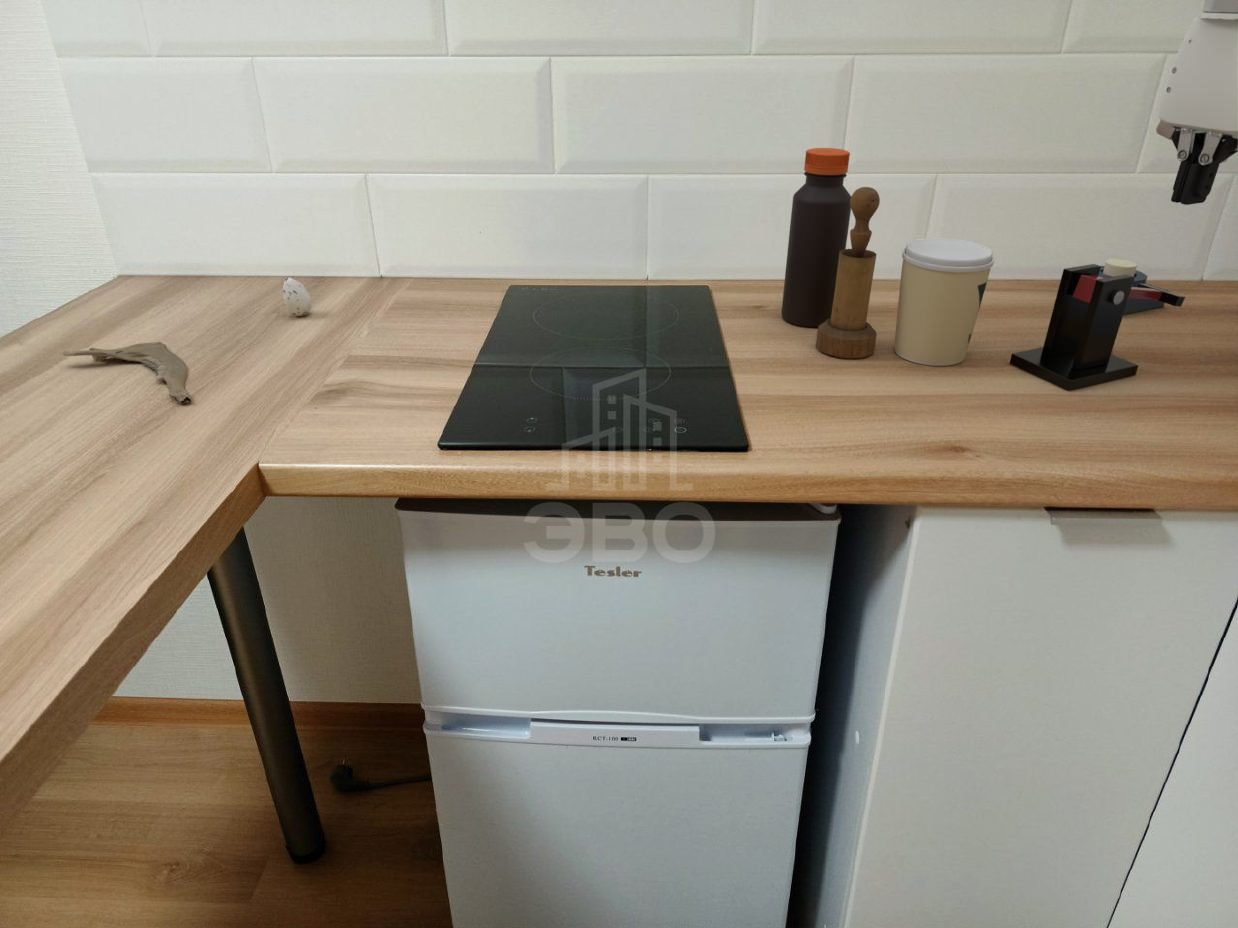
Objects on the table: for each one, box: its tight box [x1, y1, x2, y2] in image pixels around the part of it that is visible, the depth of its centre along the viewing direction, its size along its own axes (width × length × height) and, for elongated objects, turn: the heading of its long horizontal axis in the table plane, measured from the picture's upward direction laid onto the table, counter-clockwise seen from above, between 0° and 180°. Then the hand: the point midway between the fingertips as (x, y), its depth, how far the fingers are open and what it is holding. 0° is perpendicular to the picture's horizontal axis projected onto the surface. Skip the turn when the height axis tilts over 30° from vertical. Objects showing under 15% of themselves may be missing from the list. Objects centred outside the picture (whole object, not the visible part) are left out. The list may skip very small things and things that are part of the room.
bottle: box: [781, 147, 852, 328], centre depth 103 cm, size 7×7×20 cm
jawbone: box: [62, 341, 193, 404], centre depth 93 cm, size 9×20×2 cm, turn 60°
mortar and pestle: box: [815, 186, 881, 359], centre depth 94 cm, size 7×6×18 cm
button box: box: [1099, 265, 1169, 316], centre depth 112 cm, size 10×8×4 cm
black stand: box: [1009, 263, 1139, 392], centre depth 91 cm, size 10×8×11 cm
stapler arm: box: [1072, 275, 1186, 308], centre depth 92 cm, size 13×5×2 cm, turn 114°
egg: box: [282, 276, 312, 317], centre depth 107 cm, size 3×3×5 cm
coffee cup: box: [894, 237, 995, 367], centre depth 95 cm, size 9×9×12 cm
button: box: [1103, 258, 1138, 277], centre depth 111 cm, size 4×4×2 cm
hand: (1187, 201), depth 89 cm, fingers closed
